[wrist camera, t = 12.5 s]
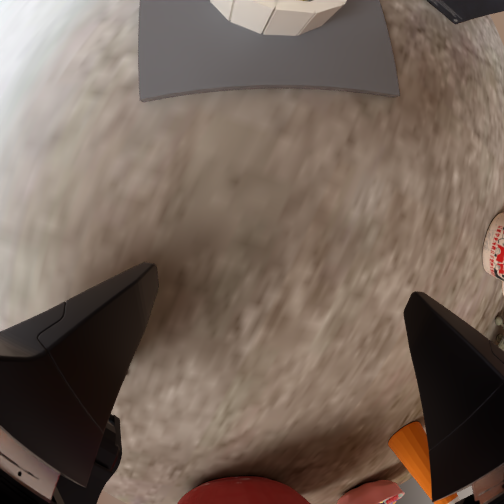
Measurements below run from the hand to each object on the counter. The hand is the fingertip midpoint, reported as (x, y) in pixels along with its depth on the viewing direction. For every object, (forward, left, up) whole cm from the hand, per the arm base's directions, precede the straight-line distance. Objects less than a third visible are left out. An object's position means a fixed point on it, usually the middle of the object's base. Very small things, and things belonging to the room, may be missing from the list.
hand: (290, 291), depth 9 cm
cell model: (+22, -68, -12) cm, 72 cm away
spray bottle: (+24, -41, -12) cm, 49 cm away
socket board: (+4, +18, -12) cm, 22 cm away
